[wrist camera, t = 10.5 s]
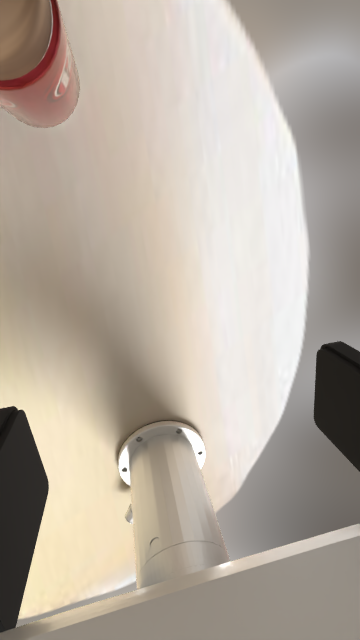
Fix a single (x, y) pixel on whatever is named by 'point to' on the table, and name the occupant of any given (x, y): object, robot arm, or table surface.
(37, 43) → the tan short cylinder
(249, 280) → the table surface
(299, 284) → the table surface
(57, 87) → the soda can
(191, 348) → the table surface
